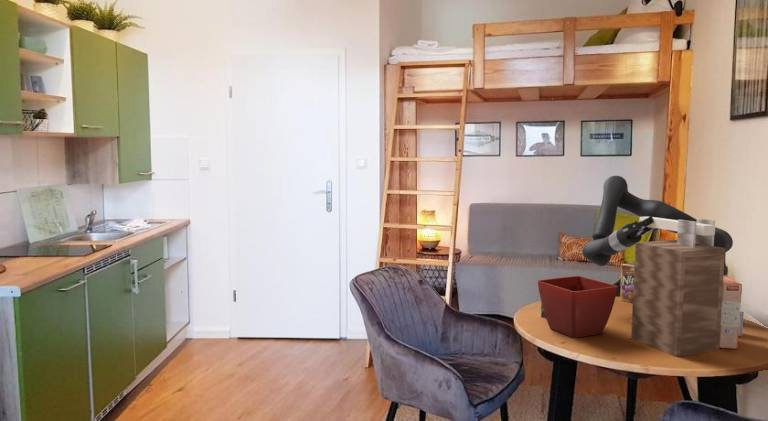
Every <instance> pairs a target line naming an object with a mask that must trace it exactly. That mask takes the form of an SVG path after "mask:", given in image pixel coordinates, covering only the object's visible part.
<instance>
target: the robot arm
mask: <svg viewBox="0 0 768 421" xmlns="http://www.w3.org/2000/svg"><path fill="white" fill-rule="evenodd" d="M618 208H619V209H623V210H625V211H628V212H629V213H632V214H634V215H636V216H637V217H639V218H640V217H648V218H647V219H645V220H641V221H634V222H632V223H626V224H625V225H624V226H621V227H620V228H618V229H617V230H615V225H616V221H617V220H616V219H617V211H618ZM653 217H657V218H664V219H672V220H687V221H695V222H696V221H697V219H698V218H695V217H693V216H692V215H690V214H687V213H686V212H685V211H682V210H680V209H678V208H677V207H674V206H673V205H670V204H668V203H666V202H664V201H662V200H658V199H655V200H654V199H643V198H640V197H638V196H636V195H634V194H633V193H631V192H630V191H629V186H628V182H627V180H626V179H625V178H624V177H623V176H621V175H612V176H611V175H610V176H609V177H608V178H607V179H605V181H604V183H603V194H602V199H601V206H600V209H599V213H598V216H597V219H596V222H595V226H594V229H593V232H592V236H591V237H592V240H591V241H588V242H587V243H586V244H585V245H584V246H583V248H582V251H581V254H582V256H583V257H584V258H585V259H587V260H589V261H590V262H591V263H594V264H595V265H597V266H599V267H605V266H606V265H608V264H609V262H610V260H611V258H612V256H615V255H617V254H619V253H620V252H622V251H625V250H627V249H630V248H631V247H633V246H634V245H635V243H637V242H641V240H642V237H643V236H646V235H647V234H648V233H652V234H654V233H655V232H656V231H658V230H659V228H652V227H646V226H648V225H650V224H652V223H653V222H654V220H653ZM666 231H667V232H670V233H674V234H677V233H678V231H671V230H666ZM695 239H696V238H695ZM733 245H734V241H733V238H732V235H731V234H729V233H728V232H727V231H726V230H725V229H723V228H719V227H716V226H715V235H714V246H716V247H722V248H725V257H726V253H727V252H728V251H730V250H731V249H732V247H733ZM728 274H729V268H728V266H727V264H726V258H725V259H724V275H723V276H726V277H728ZM728 278H729V277H728Z"/></svg>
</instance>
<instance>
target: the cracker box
mask: <svg viewBox="0 0 768 421" xmlns="http://www.w3.org/2000/svg"><path fill="white" fill-rule="evenodd" d="M742 291H743V284H742V283H740V282H738V281H736V280H734V279H731V278H729V277H726V276H723V292H722V308H721V325H720V342H719V349H720V348H721V349H731V350H732V349H733V350H737V349H739V348H738V346H739V336H738V334H739V321H740V309H741V306H742V305H741V304H742Z"/></svg>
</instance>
